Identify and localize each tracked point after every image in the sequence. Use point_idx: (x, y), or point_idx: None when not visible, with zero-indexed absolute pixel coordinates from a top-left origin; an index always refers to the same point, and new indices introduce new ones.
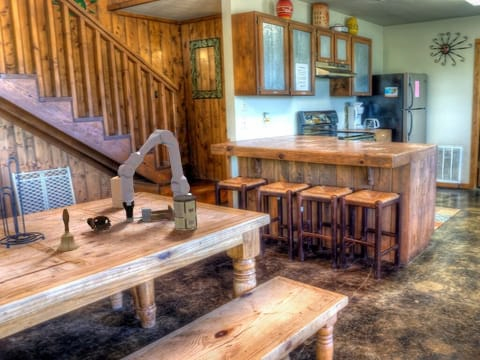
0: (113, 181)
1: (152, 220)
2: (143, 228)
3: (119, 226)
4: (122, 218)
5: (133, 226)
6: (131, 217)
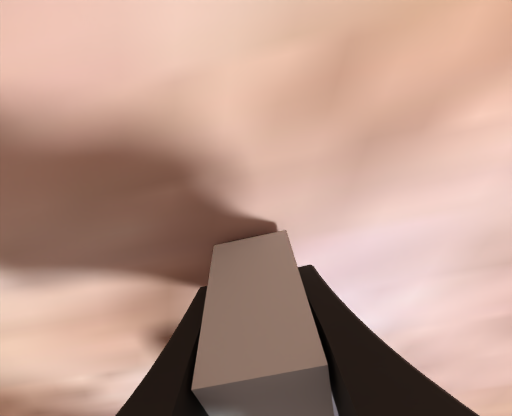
0: None
1: None
2: (21, 381)
3: (33, 205)
4: (400, 164)
5: (62, 319)
6: None
